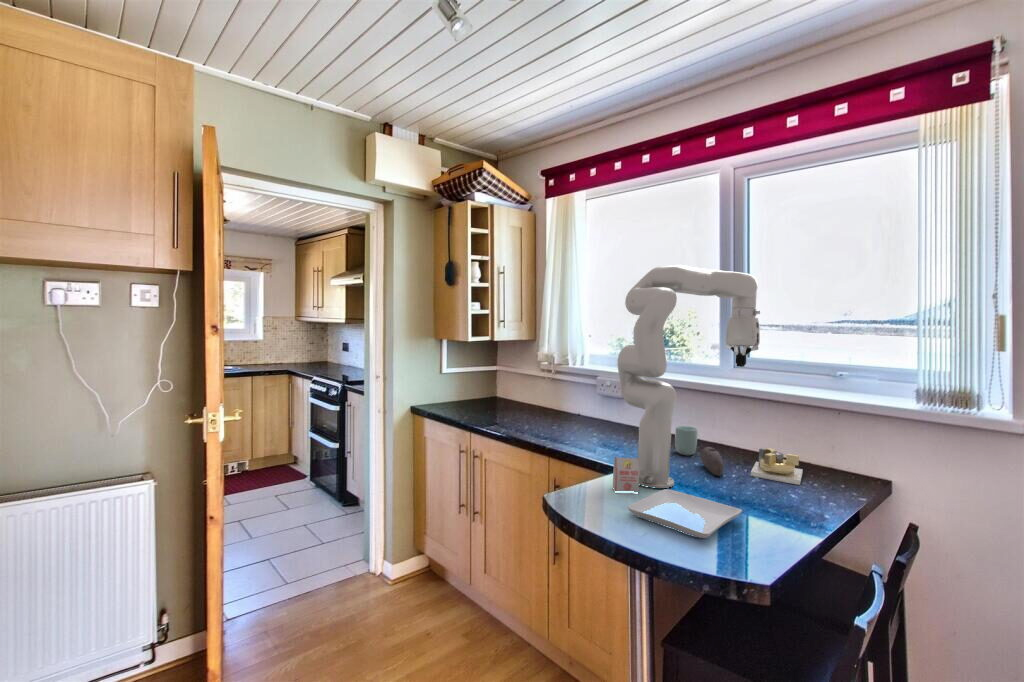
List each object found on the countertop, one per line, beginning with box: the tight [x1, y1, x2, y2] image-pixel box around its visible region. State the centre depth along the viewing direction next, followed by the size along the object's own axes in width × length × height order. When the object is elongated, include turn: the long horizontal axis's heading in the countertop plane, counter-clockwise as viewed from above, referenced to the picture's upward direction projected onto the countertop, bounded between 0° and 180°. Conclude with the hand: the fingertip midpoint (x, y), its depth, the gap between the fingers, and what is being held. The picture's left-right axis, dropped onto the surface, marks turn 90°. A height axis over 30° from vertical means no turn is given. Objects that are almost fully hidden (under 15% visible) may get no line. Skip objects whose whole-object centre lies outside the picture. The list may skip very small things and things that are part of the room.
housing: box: [750, 448, 803, 486], centre depth 161 cm, size 14×14×7 cm
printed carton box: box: [612, 456, 640, 493], centre depth 141 cm, size 4×7×10 cm, turn 88°
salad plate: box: [627, 488, 743, 539], centre depth 123 cm, size 21×21×3 cm
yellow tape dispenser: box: [760, 447, 800, 474], centre depth 160 cm, size 11×11×6 cm
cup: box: [674, 425, 699, 457], centre depth 183 cm, size 8×8×10 cm
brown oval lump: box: [700, 446, 725, 477], centre depth 162 cm, size 15×5×7 cm, turn 171°
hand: (740, 366), depth 168 cm, fingers closed
